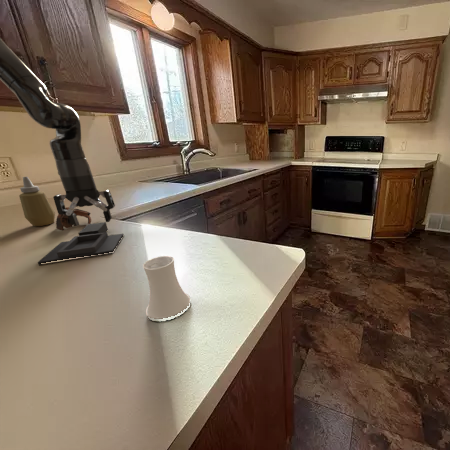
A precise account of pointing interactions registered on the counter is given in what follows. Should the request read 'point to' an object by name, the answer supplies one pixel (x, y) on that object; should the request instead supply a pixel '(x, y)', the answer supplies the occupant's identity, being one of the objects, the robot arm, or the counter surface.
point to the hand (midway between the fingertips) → (92, 223)
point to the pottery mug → (65, 222)
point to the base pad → (83, 247)
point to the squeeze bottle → (35, 205)
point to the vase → (164, 289)
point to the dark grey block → (94, 229)
